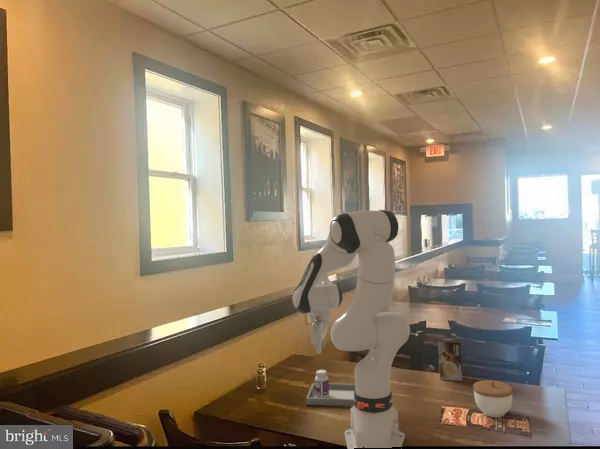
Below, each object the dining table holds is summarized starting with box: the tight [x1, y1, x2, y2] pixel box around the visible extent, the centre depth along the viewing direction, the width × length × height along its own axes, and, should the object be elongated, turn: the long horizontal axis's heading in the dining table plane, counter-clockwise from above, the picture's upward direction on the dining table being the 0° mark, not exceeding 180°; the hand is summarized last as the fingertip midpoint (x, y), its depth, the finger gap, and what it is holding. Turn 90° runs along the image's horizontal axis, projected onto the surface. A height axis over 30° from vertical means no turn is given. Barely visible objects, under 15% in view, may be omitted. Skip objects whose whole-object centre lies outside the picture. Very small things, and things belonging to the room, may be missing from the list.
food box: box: [437, 337, 464, 382], centre depth 195 cm, size 9×6×16 cm
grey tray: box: [305, 382, 355, 408], centre depth 179 cm, size 16×21×2 cm
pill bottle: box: [314, 369, 330, 398], centre depth 180 cm, size 5×5×10 cm
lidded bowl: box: [472, 380, 514, 418], centre depth 160 cm, size 13×13×11 cm
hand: (320, 349), depth 180 cm, fingers open, 8 cm apart
